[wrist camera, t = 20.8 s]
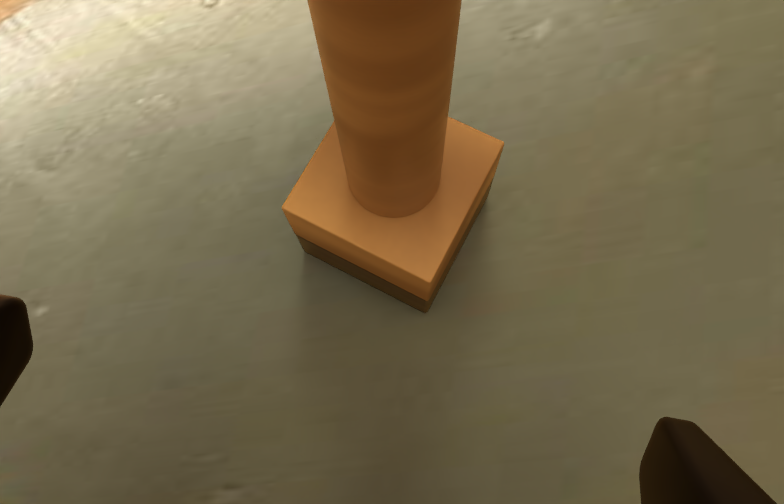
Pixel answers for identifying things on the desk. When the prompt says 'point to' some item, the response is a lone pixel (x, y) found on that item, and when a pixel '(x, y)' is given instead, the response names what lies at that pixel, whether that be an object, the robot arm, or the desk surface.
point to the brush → (391, 149)
